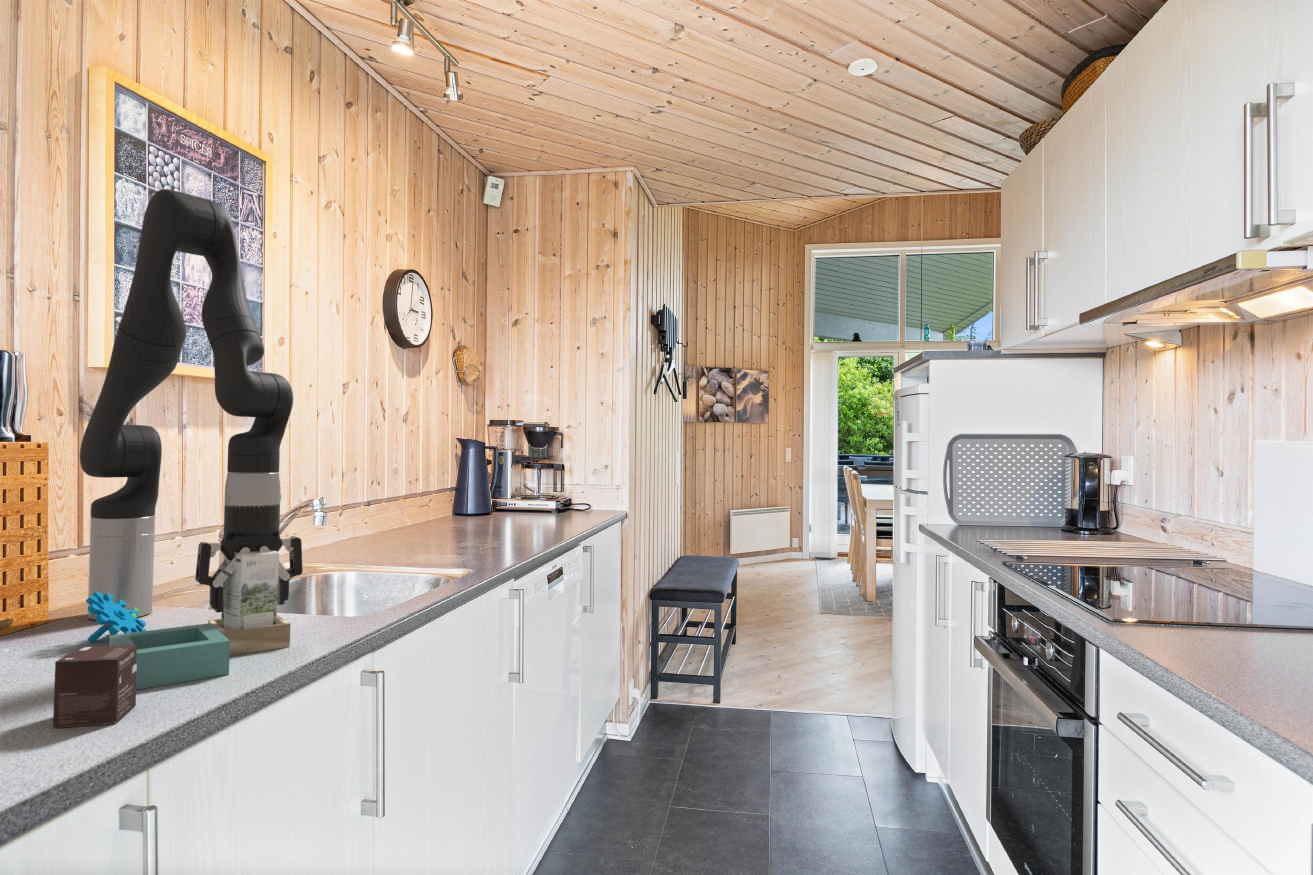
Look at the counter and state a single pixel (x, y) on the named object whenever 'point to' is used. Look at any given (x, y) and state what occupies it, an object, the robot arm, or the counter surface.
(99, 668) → the box
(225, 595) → the syrup box
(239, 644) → the stand collar
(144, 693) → the counter surface
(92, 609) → the gear
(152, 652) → the teal square frame
